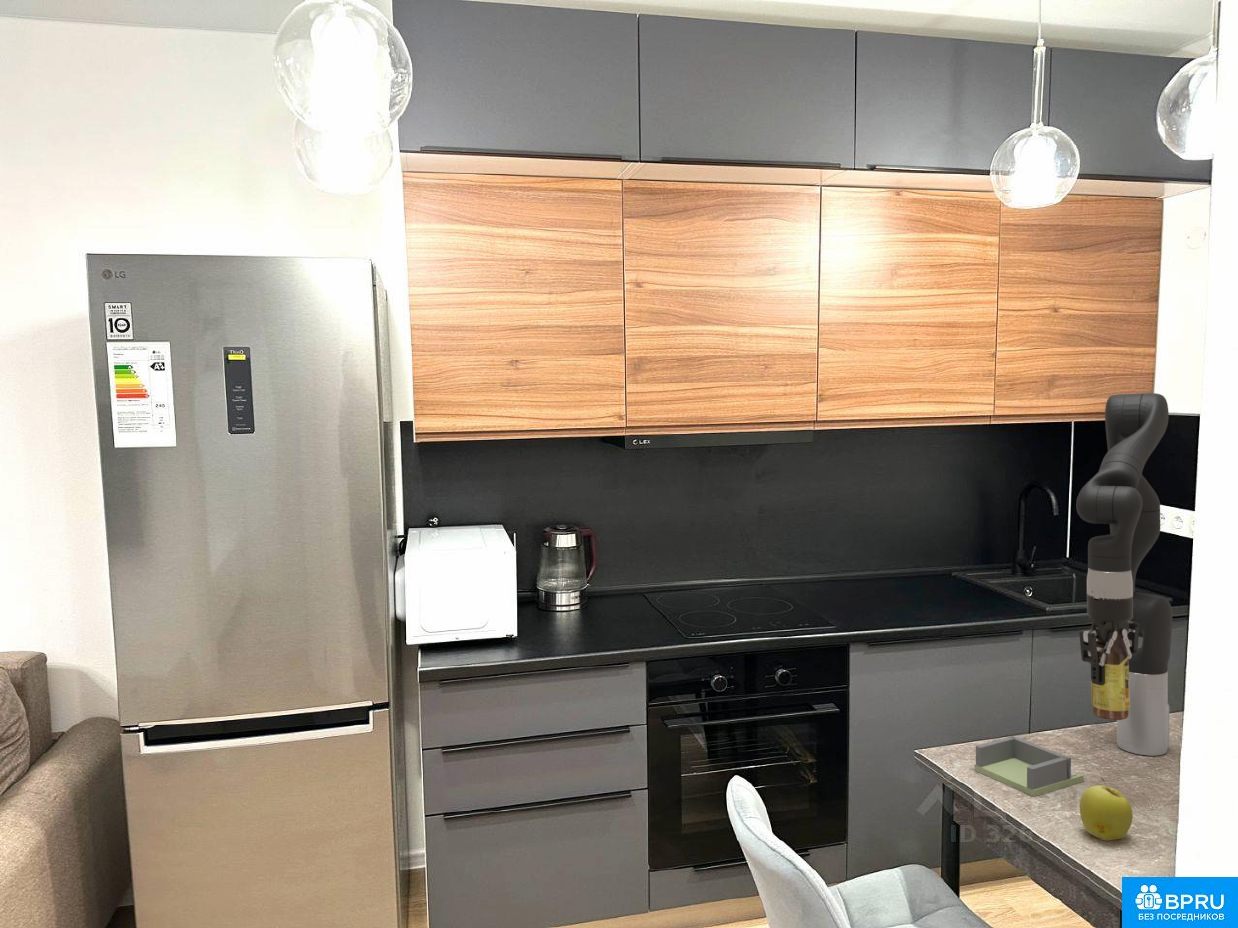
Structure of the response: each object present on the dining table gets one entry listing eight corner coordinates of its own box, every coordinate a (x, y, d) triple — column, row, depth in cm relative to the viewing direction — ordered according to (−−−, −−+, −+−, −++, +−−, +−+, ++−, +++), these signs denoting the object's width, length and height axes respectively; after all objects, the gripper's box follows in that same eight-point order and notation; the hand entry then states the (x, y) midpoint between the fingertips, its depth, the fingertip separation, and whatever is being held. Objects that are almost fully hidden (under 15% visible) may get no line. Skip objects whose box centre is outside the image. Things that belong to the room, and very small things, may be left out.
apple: (1069, 832, 150) (1076, 772, 151) (1085, 830, 155) (1091, 772, 157) (1121, 848, 144) (1127, 785, 146) (1135, 845, 150) (1141, 785, 151)
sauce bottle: (1134, 722, 162) (1134, 615, 160) (1097, 721, 163) (1097, 615, 161) (1122, 709, 168) (1121, 607, 167) (1086, 708, 169) (1085, 607, 168)
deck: (1023, 756, 185) (1023, 732, 184) (1083, 781, 172) (1083, 755, 172) (974, 770, 179) (974, 745, 178) (1033, 796, 166) (1033, 769, 166)
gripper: (1115, 584, 170) (1116, 669, 171) (1065, 594, 164) (1066, 682, 165) (1154, 591, 163) (1154, 679, 165) (1102, 601, 157) (1103, 693, 158)
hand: (1110, 680), depth 165 cm, fingers closed on sauce bottle, 6 cm apart
